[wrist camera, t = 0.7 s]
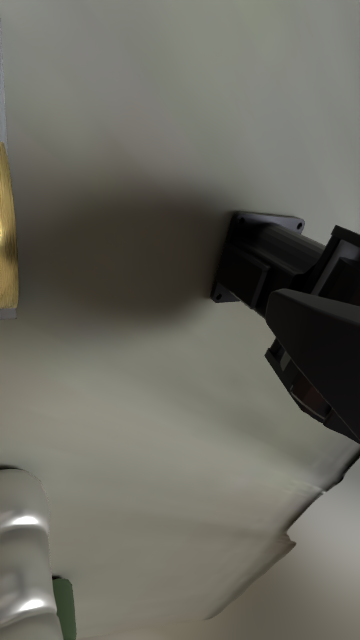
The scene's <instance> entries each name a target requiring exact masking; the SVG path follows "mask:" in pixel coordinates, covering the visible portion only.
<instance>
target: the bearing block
mask: <svg viewBox="0 0 360 640" xmlns="http://www.w3.org/2000/svg"><path fill="white" fill-rule="evenodd" d="M0 141H1V142H4V145H5V148H6V153H7V158H8V151H7V132H6V114H5V95H4V76H3V58H2V39H1V20H0ZM4 319H16V308H3V309H0V320H4Z"/></svg>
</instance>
